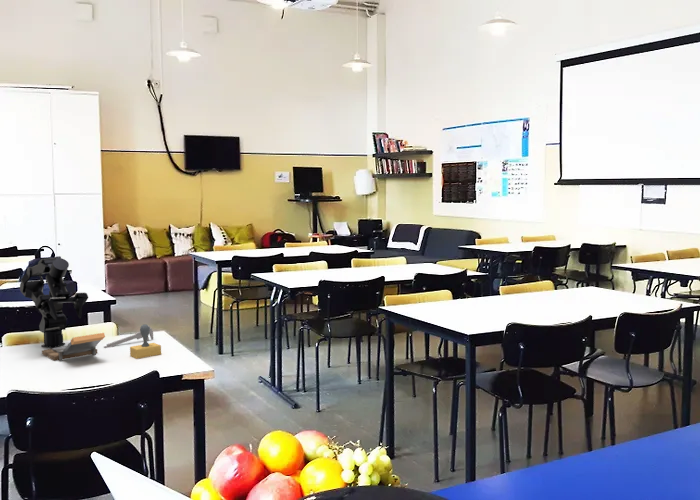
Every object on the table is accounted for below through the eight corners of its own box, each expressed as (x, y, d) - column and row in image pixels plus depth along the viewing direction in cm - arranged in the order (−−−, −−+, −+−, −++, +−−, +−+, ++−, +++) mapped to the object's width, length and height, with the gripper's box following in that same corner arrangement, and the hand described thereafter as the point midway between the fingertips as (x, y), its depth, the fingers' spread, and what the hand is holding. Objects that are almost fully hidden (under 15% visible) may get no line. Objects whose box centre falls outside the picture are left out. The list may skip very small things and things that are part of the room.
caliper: (152, 340, 285) (151, 325, 284) (153, 340, 284) (152, 325, 283) (103, 348, 271) (102, 332, 271) (104, 348, 271) (104, 333, 270)
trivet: (42, 354, 261) (41, 345, 261) (84, 347, 272) (83, 338, 272) (56, 361, 250) (56, 352, 250) (99, 354, 261) (99, 345, 261)
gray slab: (61, 352, 253) (73, 337, 243) (91, 347, 260) (103, 332, 250) (62, 356, 252) (74, 341, 242) (92, 351, 260) (105, 336, 250)
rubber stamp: (136, 359, 254) (135, 327, 253) (130, 356, 258) (128, 324, 257) (161, 354, 261) (160, 323, 259) (154, 351, 265) (153, 321, 264)
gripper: (72, 296, 278) (84, 328, 272) (25, 298, 264) (36, 332, 258) (82, 279, 272) (94, 312, 266) (35, 281, 258) (46, 316, 252)
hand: (68, 318), depth 261 cm, fingers open, 9 cm apart
